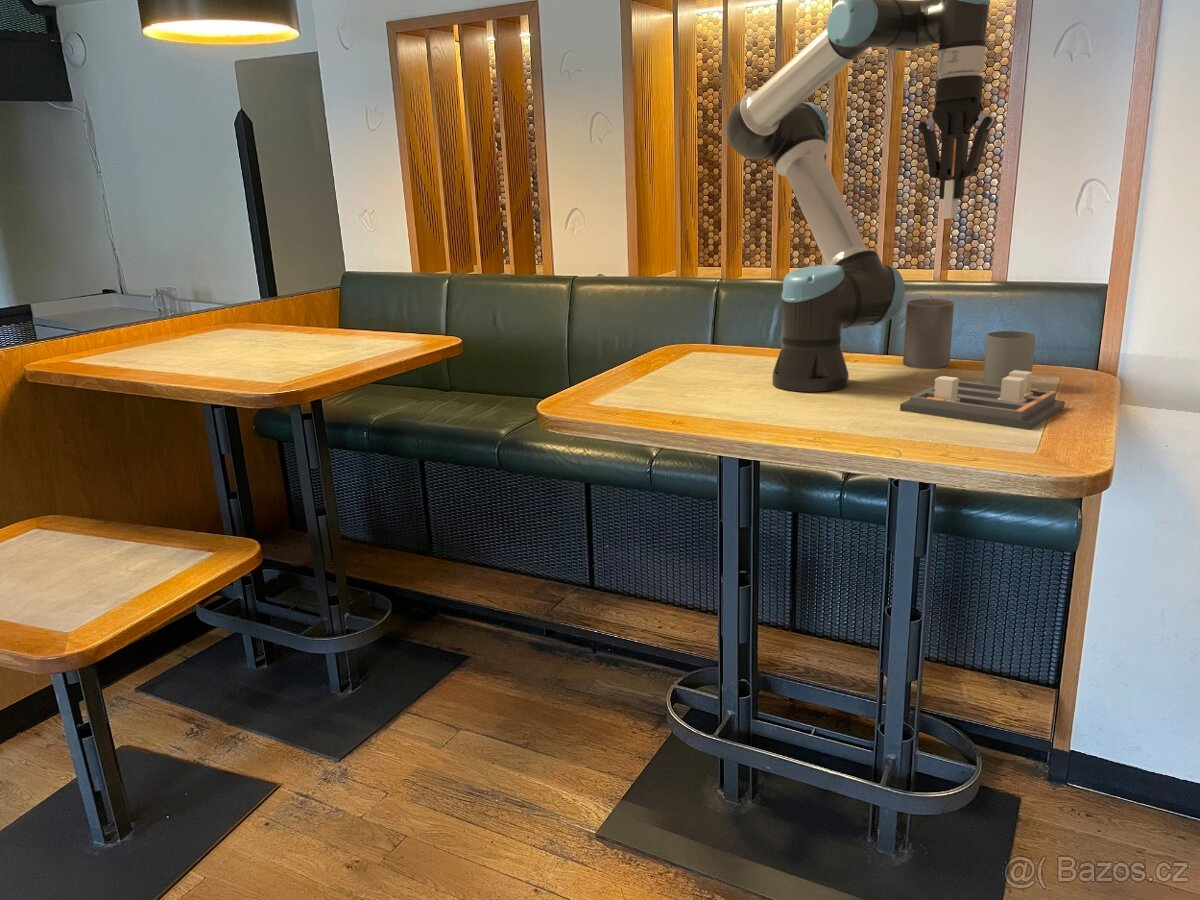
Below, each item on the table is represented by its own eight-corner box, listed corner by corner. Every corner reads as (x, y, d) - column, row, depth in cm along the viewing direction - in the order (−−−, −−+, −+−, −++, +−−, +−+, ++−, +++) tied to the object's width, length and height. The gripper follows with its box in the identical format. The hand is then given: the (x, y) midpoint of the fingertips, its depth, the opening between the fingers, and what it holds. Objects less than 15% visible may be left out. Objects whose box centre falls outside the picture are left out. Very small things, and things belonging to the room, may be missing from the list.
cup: (1034, 390, 163) (1040, 338, 161) (988, 390, 165) (993, 338, 162) (1023, 380, 171) (1028, 330, 168) (979, 380, 173) (983, 331, 170)
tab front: (930, 405, 152) (932, 378, 150) (937, 401, 154) (939, 375, 152) (953, 408, 149) (955, 381, 148) (959, 405, 151) (961, 378, 150)
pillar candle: (899, 360, 195) (902, 293, 191) (944, 359, 194) (949, 292, 189) (907, 369, 186) (911, 300, 182) (955, 368, 185) (960, 298, 180)
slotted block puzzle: (899, 410, 154) (900, 395, 154) (940, 391, 166) (941, 377, 165) (1029, 429, 140) (1031, 412, 139) (1064, 407, 151) (1066, 392, 150)
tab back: (1003, 398, 154) (1005, 372, 152) (1009, 395, 155) (1011, 369, 154) (1027, 401, 151) (1029, 375, 149) (1032, 398, 153) (1035, 372, 151)
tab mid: (996, 405, 149) (998, 378, 148) (1002, 402, 151) (1004, 375, 150) (1020, 409, 147) (1023, 381, 145) (1026, 405, 149) (1029, 378, 147)
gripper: (913, 79, 150) (905, 219, 157) (990, 70, 141) (978, 219, 148) (932, 81, 155) (923, 217, 162) (1007, 73, 147) (994, 216, 153)
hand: (949, 218), depth 155 cm, fingers closed
